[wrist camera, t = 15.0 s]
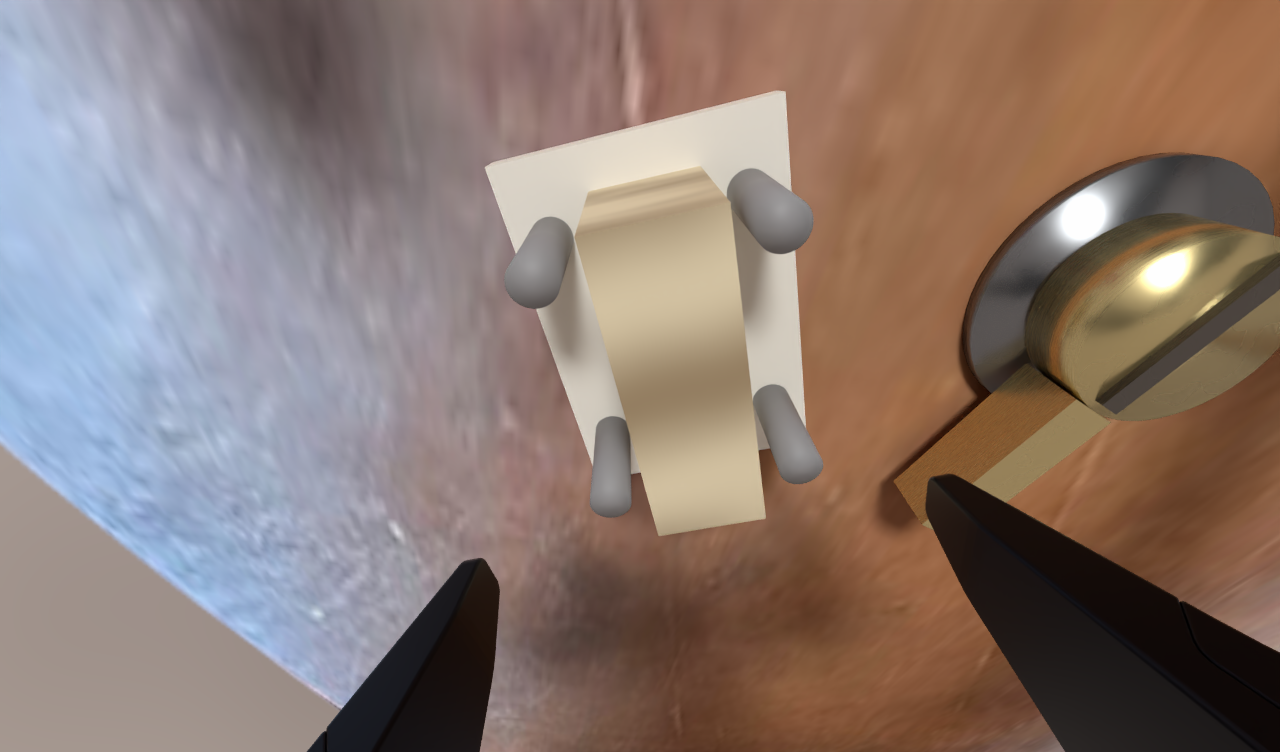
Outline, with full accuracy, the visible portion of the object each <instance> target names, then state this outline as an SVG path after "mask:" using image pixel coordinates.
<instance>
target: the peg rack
mask: <svg viewBox="0 0 1280 752" xmlns="http://www.w3.org/2000/svg"><path fill="white" fill-rule="evenodd" d="M697 166H701V167H702V168H703V170H704V171H705V172H706V173H707V174H708V176H709V177H710V178H711V179H712V180H713V182H714V183H715V184H716V185H717V187H718V188H719V189H720V190H721V191H722V193H723V194H724V195H725V196H726V197H727V199H728V200H729V201H730V202H731V211H732V220H733V229H734V238H735V247H736V256H737V265H738V274H739V283H740V292H741V301H742V310H743V319H744V328H745V337H746V346H747V355H748V363H749V372H750V381H751V390H752V399H753V408H754V417H755V426H756V435H757V444H758V450H763V449H769V448H770V449H771V452H772V454H773V457H774V459H775V462H776V465H777V467H778V470H779V472H780V475H781V477H782V478H783V479H784V480H785V481H787V482H789V483H792V484H803V483H807V482H809V481H811V480H813V479H815V478H816V477H817V476H818V475H819V474H820V473H821V471H822V468H823V461H822V459H821V457H820V455H819V453H818V451H817V449H816V447H815V445H814V443H813V441H812V439H811V437H810V435H809V433H808V432H807V430H806V423H805V407H804V390H803V374H802V357H801V341H800V324H799V308H798V291H797V275H796V258H795V250H796V249H798V248H799V247H801V246H802V245H803V244H804V243H805V242H806V240H807V239H808V237H809V235H810V233H811V231H812V228H813V214H812V211H811V208H810V207H809V205H808V204H807V203H806V202H805V201H804V200H802V199H801V198H799V197H798V196H797V195H795V194H794V193H792V192H791V176H790V159H789V143H788V126H787V110H786V93H785V91H772V92H768V93H764V94H761V95H757V96H753V97H749V98H745V99H741V100H737V101H733V102H729V103H725V104H721V105H717V106H713V107H709V108H705V109H701V110H697V111H693V112H689V113H685V114H681V115H678V116H674V117H670V118H666V119H662V120H658V121H654V122H650V123H646V124H642V125H638V126H634V127H630V128H626V129H622V130H618V131H614V132H610V133H606V134H602V135H599V136H595V137H591V138H587V139H583V140H579V141H575V142H571V143H567V144H563V145H559V146H555V147H551V148H547V149H543V150H539V151H535V152H531V153H527V154H523V155H519V156H516V157H512V158H508V159H504V160H500V161H496V162H492V163H491V164H489V165H488V166H486V167H485V170H486V173H487V175H488V178H489V181H490V184H491V186H492V189H493V192H494V195H495V197H496V200H497V203H498V206H499V208H500V211H501V214H502V217H503V219H504V222H505V225H506V228H507V230H508V233H509V236H510V239H511V241H512V244H513V247H514V250H515V252H516V255H515V257H514V258H513V260H512V262H511V263H510V265H509V267H508V268H507V270H506V273H505V278H504V281H505V287H506V290H507V292H508V294H509V295H510V297H511V298H512V299H513V300H514V301H515V302H517V303H518V304H520V305H521V306H524V307H527V308H532V309H536V310H537V313H538V316H539V319H540V321H541V324H542V327H543V330H544V332H545V335H546V338H547V341H548V343H549V346H550V349H551V352H552V354H553V357H554V360H555V363H556V365H557V368H558V371H559V374H560V376H561V379H562V382H563V385H564V387H565V390H566V393H567V396H568V398H569V401H570V404H571V407H572V409H573V412H574V415H575V418H576V421H577V423H578V426H579V429H580V432H581V434H582V437H583V440H584V443H585V445H586V448H587V451H588V454H589V456H590V459H591V462H592V465H593V470H592V482H591V494H590V506H591V508H592V510H593V511H594V512H595V513H597V514H598V515H600V516H603V517H610V518H611V517H618V516H621V515H623V514H625V513H626V512H627V511H628V510H629V509H630V507H631V474H635V473H640V468H639V465H638V461H637V458H636V454H635V451H634V447H633V444H632V440H631V436H630V433H629V429H628V426H627V422H626V419H625V415H624V412H623V408H622V405H621V401H620V397H619V394H618V390H617V387H616V383H615V380H614V376H613V373H612V369H611V365H610V362H609V358H608V355H607V351H606V348H605V344H604V341H603V337H602V334H601V330H600V326H599V323H598V319H597V316H596V312H595V309H594V305H593V302H592V298H591V295H590V291H589V287H588V284H587V280H586V277H585V273H584V270H583V266H582V263H581V259H580V255H579V252H578V248H577V245H576V241H575V238H574V236H575V233H576V230H577V227H578V223H579V220H580V217H581V214H582V210H583V207H584V204H585V201H586V197H587V194H588V191H592V190H597V189H601V188H606V187H610V186H614V185H619V184H623V183H627V182H632V181H636V180H640V179H645V178H649V177H654V176H658V175H662V174H667V173H671V172H675V171H680V170H684V169H688V168H693V167H697Z"/></svg>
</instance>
